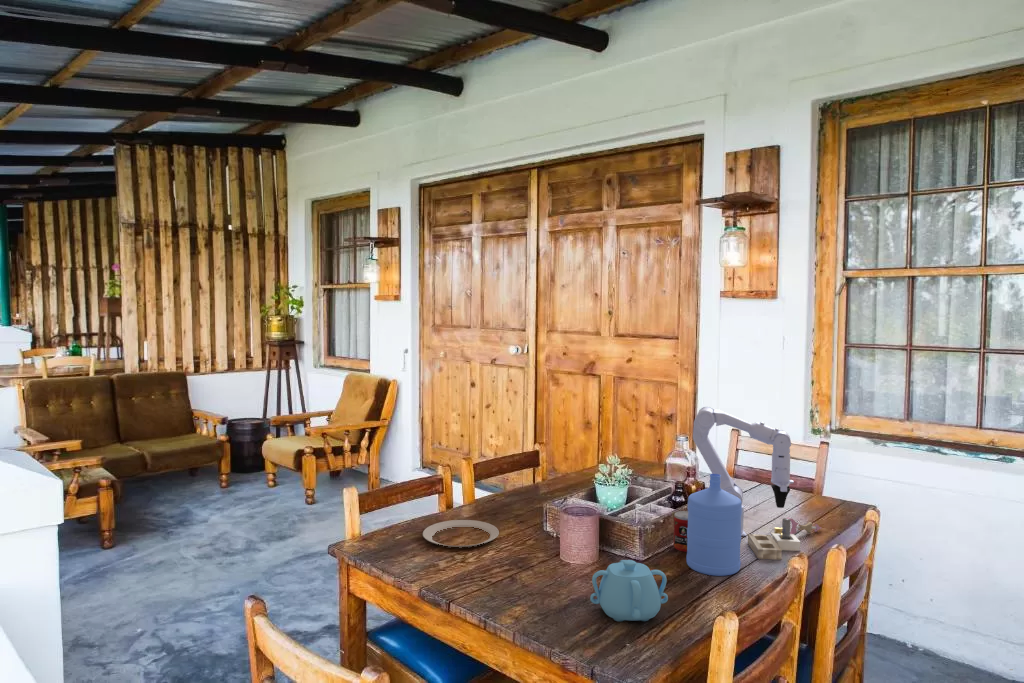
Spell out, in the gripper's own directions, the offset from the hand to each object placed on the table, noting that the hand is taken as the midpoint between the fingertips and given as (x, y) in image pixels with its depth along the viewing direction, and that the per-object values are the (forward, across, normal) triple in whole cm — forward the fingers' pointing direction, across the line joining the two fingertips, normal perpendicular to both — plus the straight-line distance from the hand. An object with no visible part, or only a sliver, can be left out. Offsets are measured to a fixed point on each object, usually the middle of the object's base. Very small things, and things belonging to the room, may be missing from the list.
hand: (780, 507), depth 234 cm
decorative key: (+10, +4, -8) cm, 14 cm away
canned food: (+10, -17, +31) cm, 37 cm away
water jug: (+10, -31, +23) cm, 41 cm away
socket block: (+10, -4, 0) cm, 11 cm away
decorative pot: (+10, -68, +46) cm, 83 cm away
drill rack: (+10, -14, +7) cm, 19 cm away
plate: (+10, -25, +105) cm, 108 cm away
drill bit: (+10, -8, -1) cm, 14 cm away
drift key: (+10, -3, 0) cm, 10 cm away
